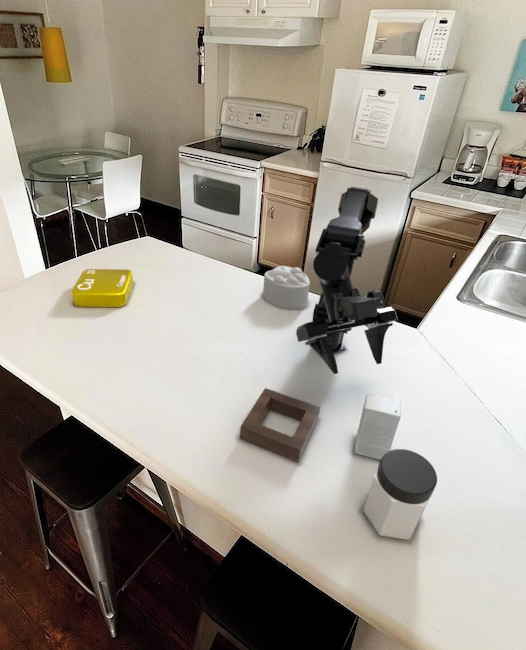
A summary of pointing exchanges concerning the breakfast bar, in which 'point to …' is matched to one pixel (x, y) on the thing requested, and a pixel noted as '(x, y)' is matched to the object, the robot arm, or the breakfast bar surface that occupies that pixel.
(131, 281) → the element tile
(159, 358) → the breakfast bar surface
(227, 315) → the breakfast bar surface
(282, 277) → the lumpy-topped squat cylinder
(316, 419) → the frame
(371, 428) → the cosmetic box
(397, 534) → the jar
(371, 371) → the breakfast bar surface
